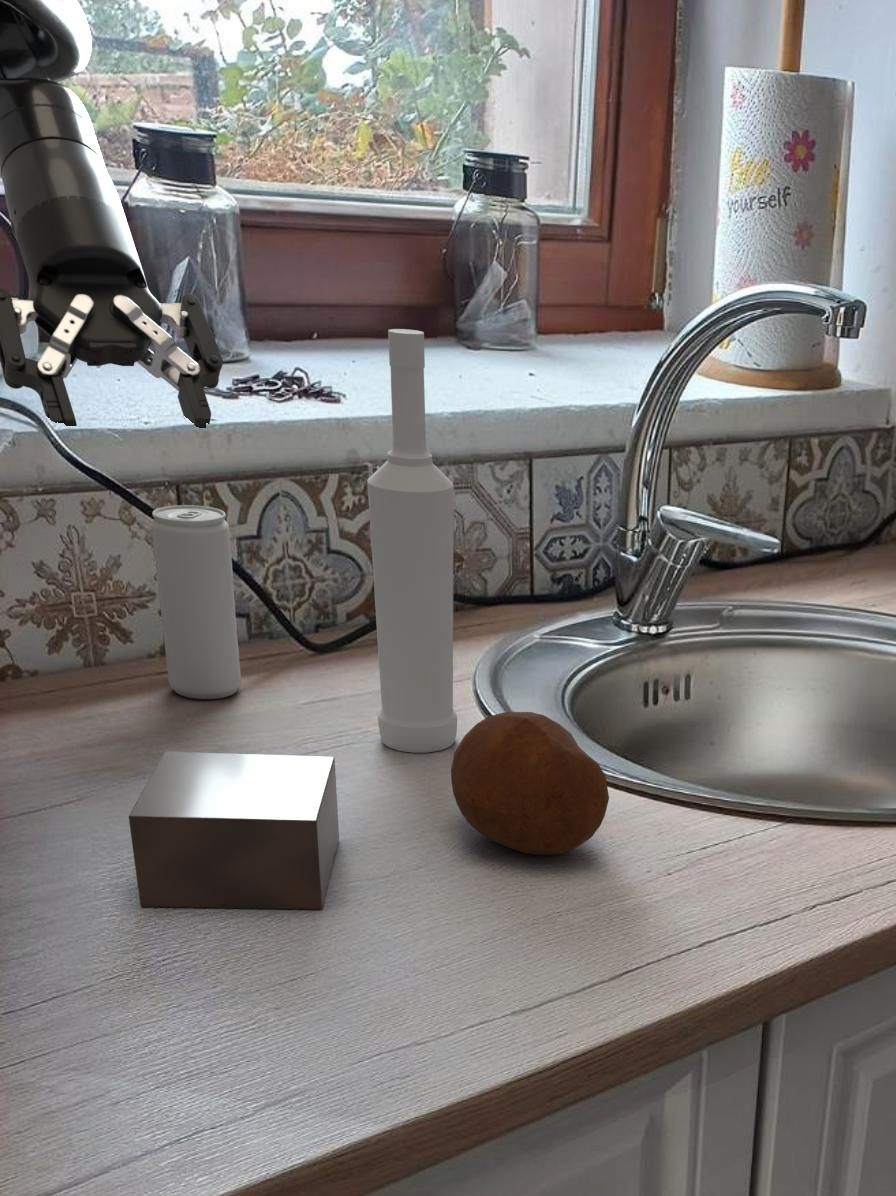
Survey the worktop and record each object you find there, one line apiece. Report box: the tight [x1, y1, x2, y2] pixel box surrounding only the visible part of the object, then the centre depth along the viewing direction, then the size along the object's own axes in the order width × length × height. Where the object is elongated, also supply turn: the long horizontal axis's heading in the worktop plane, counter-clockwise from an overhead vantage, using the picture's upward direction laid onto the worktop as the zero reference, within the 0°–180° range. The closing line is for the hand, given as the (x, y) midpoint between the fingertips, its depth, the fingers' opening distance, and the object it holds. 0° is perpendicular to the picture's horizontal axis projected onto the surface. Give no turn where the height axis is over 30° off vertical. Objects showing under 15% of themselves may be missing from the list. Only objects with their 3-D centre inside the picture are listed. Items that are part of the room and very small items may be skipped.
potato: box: [450, 711, 610, 856], centre depth 87 cm, size 8×11×8 cm
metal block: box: [128, 751, 340, 910], centre depth 81 cm, size 9×9×5 cm
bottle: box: [366, 328, 458, 754], centre depth 95 cm, size 5×5×25 cm
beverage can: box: [150, 504, 242, 700], centre depth 103 cm, size 5×5×12 cm
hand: (136, 434), depth 105 cm, fingers open, 8 cm apart
